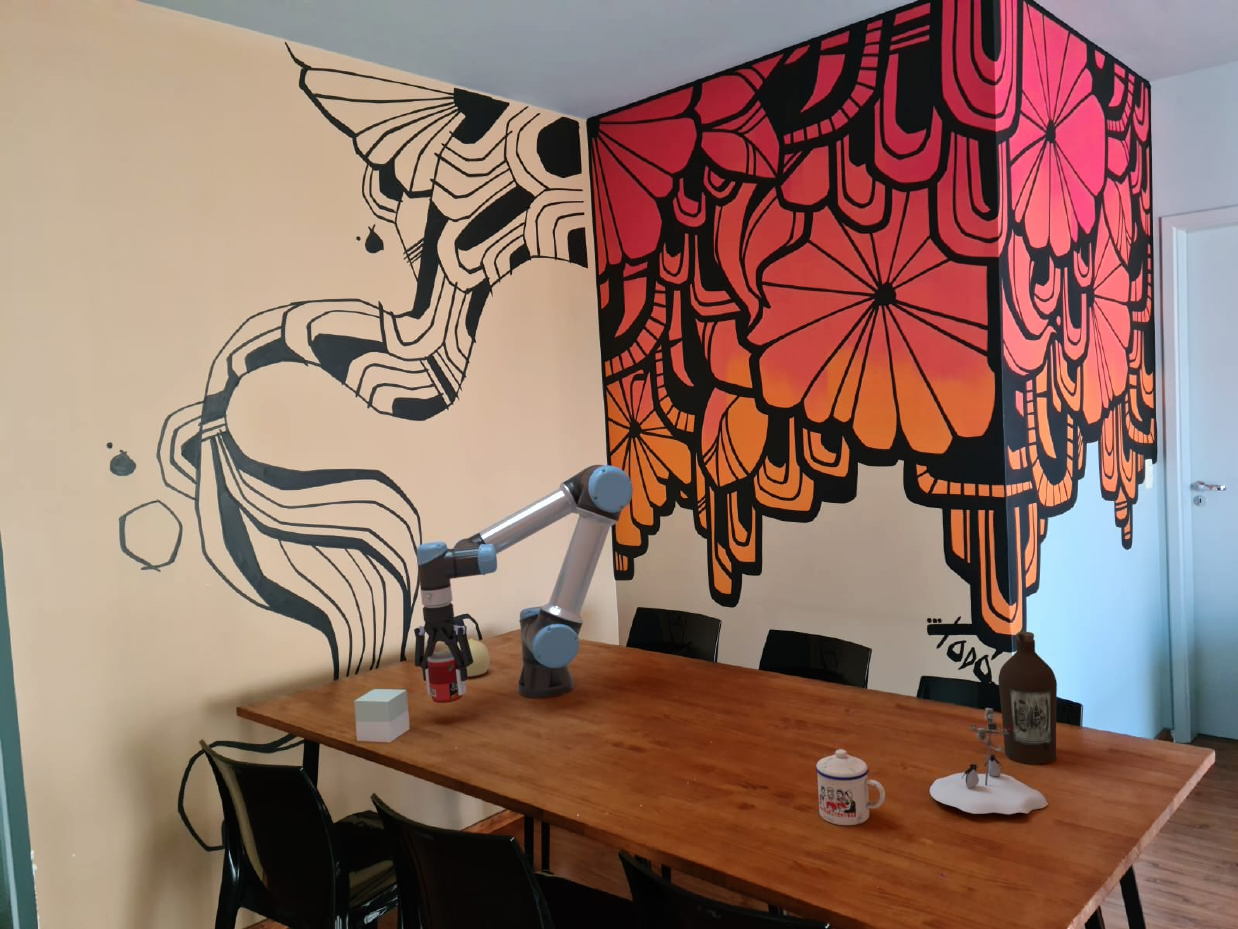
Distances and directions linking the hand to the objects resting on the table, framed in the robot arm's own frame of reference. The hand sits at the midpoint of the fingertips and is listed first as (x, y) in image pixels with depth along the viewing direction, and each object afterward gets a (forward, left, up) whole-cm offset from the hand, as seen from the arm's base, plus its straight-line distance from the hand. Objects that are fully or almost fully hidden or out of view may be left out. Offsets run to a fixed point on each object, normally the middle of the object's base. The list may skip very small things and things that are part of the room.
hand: (447, 693), depth 220 cm
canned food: (0, 0, -2) cm, 2 cm away
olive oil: (-133, +3, -7) cm, 134 cm away
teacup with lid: (-100, +36, -7) cm, 107 cm away
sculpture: (+14, -38, -7) cm, 41 cm away
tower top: (+12, +11, -2) cm, 16 cm away
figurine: (-123, +25, -7) cm, 126 cm away
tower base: (+12, +12, -7) cm, 18 cm away
